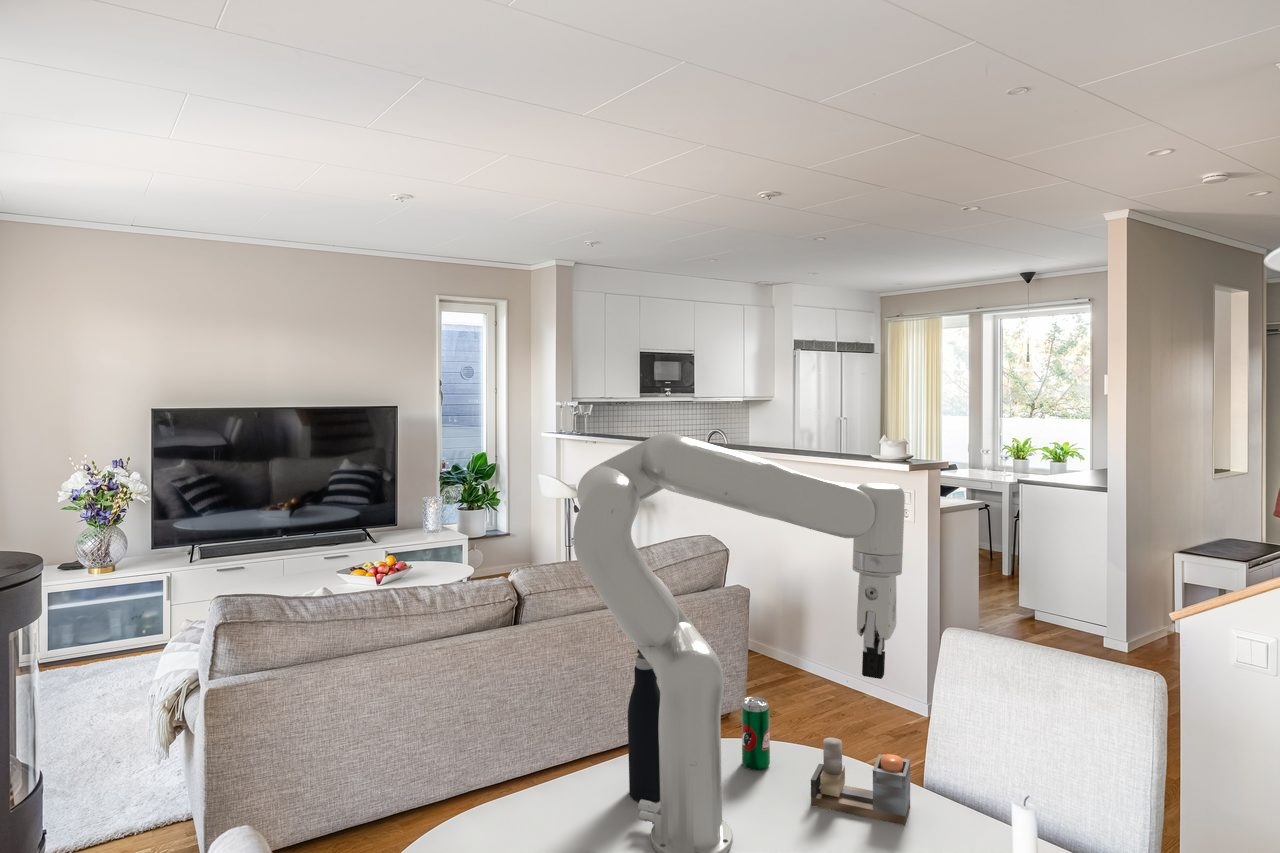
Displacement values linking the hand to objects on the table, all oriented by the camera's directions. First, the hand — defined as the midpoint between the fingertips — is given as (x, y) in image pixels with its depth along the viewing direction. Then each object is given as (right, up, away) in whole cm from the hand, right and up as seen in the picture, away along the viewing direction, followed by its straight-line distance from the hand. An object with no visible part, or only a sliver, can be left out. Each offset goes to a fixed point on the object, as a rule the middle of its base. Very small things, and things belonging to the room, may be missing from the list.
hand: (873, 675), depth 128 cm
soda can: (-16, -23, +20) cm, 34 cm away
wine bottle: (-36, -24, +10) cm, 44 cm away
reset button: (+4, -17, +2) cm, 17 cm away
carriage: (-5, -21, +7) cm, 22 cm away
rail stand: (-1, -23, +5) cm, 24 cm away
